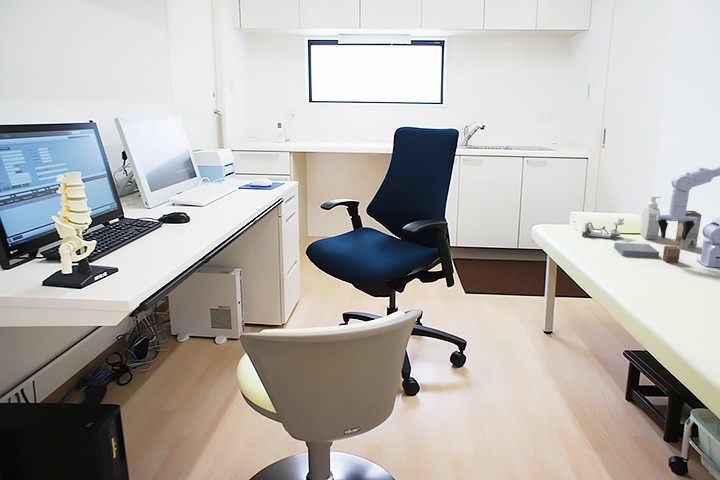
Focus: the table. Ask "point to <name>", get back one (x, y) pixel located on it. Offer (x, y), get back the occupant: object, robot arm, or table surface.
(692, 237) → the coffee box
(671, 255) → the walnut block
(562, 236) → the table surface
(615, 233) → the toy rover
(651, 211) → the soap bottle
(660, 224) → the robot arm
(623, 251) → the grey box
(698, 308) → the table surface
